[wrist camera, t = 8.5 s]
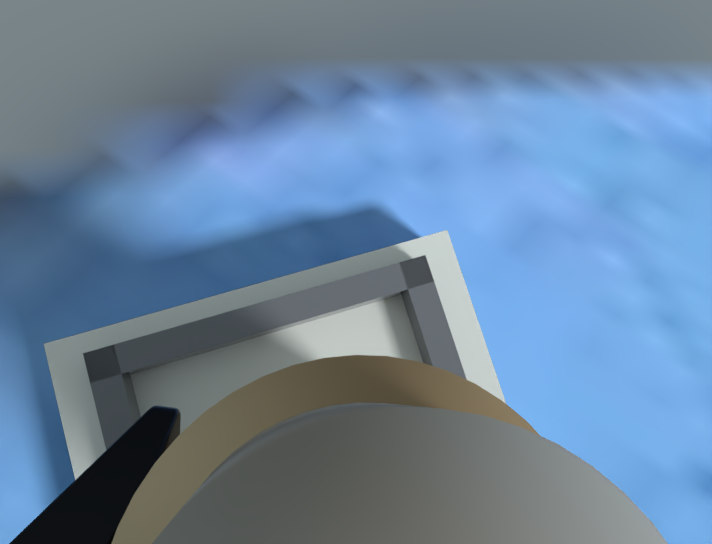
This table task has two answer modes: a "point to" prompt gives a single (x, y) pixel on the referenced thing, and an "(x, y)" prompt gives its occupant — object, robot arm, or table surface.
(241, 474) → the pepper mill
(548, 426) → the table surface
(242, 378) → the stand
